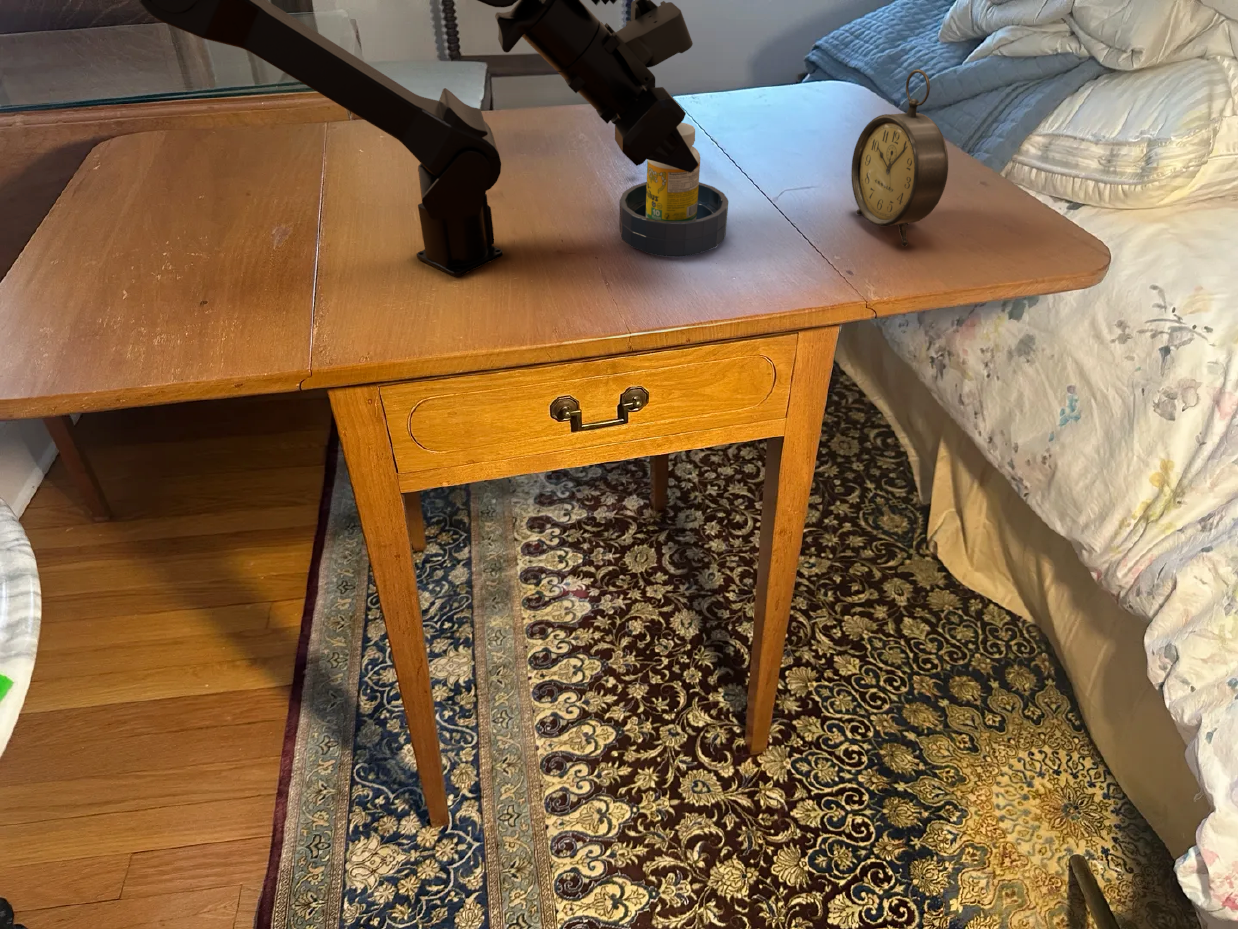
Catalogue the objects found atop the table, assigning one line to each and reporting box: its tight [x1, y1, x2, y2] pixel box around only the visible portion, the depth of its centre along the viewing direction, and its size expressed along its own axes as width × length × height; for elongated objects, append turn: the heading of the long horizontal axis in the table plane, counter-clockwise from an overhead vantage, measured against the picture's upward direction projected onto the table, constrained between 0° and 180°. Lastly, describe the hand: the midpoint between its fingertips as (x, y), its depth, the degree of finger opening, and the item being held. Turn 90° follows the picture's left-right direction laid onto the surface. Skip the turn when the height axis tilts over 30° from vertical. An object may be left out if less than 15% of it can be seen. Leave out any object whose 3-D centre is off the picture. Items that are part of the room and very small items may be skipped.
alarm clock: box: [850, 68, 949, 247], centre depth 88 cm, size 11×5×16 cm, turn 21°
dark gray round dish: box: [618, 181, 729, 258], centre depth 91 cm, size 11×11×4 cm
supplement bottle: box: [646, 121, 701, 221], centre depth 88 cm, size 5×5×10 cm
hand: (687, 157), depth 87 cm, fingers closed on supplement bottle, 5 cm apart
